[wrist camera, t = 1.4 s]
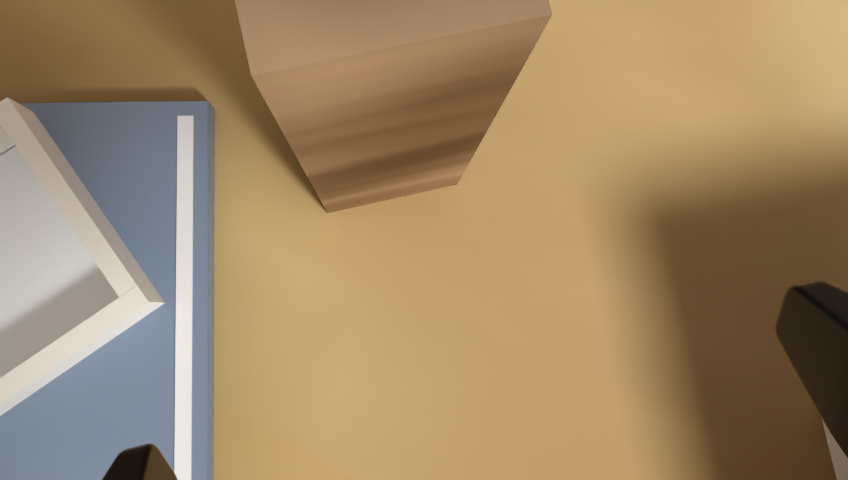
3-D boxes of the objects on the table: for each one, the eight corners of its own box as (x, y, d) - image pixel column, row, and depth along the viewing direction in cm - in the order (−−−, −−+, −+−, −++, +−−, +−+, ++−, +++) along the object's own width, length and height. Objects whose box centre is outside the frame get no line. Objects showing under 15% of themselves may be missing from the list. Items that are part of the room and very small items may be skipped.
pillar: (457, 184, 23) (552, 14, 10) (327, 212, 22) (250, 75, 10) (426, 59, 23) (480, -258, 10) (298, 85, 23) (188, -210, 10)
